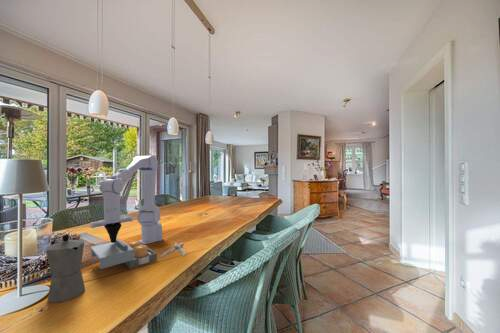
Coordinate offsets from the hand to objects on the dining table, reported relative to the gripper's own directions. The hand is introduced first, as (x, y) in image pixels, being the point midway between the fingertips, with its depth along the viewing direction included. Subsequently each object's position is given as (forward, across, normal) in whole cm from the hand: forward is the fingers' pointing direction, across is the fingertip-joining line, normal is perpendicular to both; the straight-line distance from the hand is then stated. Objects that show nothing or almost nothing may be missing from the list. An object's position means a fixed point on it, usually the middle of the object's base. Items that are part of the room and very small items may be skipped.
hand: (113, 242), depth 90 cm
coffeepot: (+8, -16, -15) cm, 24 cm away
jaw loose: (+7, +8, -2) cm, 11 cm away
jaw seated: (+7, +8, -9) cm, 14 cm away
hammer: (+9, +23, -8) cm, 26 cm away
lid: (+5, -1, -5) cm, 7 cm away
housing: (+8, +8, -5) cm, 12 cm away
